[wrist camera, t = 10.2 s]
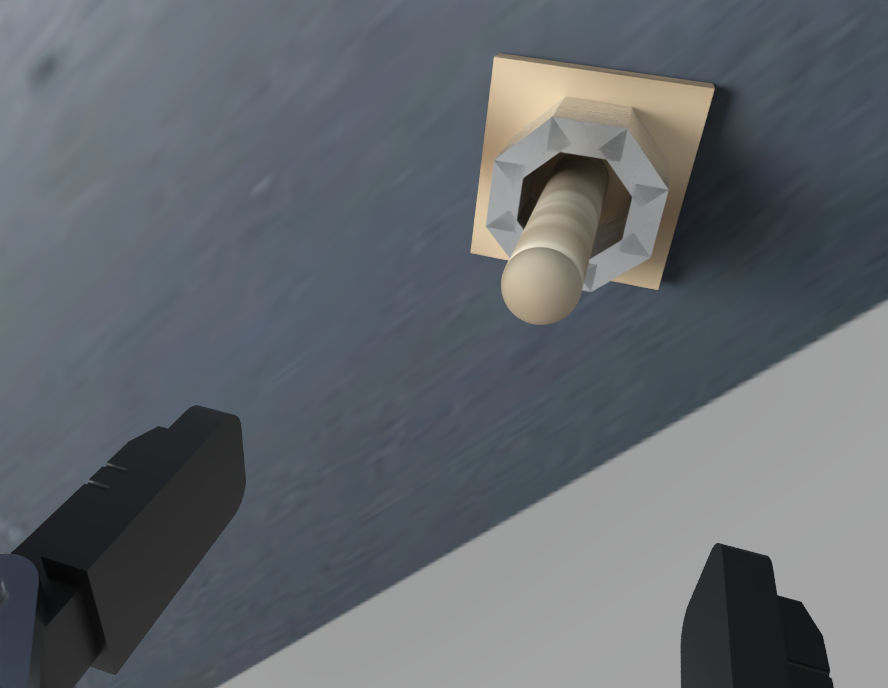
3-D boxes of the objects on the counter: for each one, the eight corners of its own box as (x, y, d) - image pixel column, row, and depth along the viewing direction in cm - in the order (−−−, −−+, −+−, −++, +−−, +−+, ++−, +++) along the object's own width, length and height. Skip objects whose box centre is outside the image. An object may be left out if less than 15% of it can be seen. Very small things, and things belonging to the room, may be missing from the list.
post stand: (499, 53, 27) (398, 123, 17) (712, 83, 25) (741, 179, 15) (475, 244, 31) (383, 391, 21) (658, 279, 30) (652, 456, 20)
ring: (519, 89, 26) (500, 108, 24) (681, 113, 25) (683, 136, 22) (498, 237, 30) (480, 269, 27) (642, 264, 28) (639, 301, 26)
